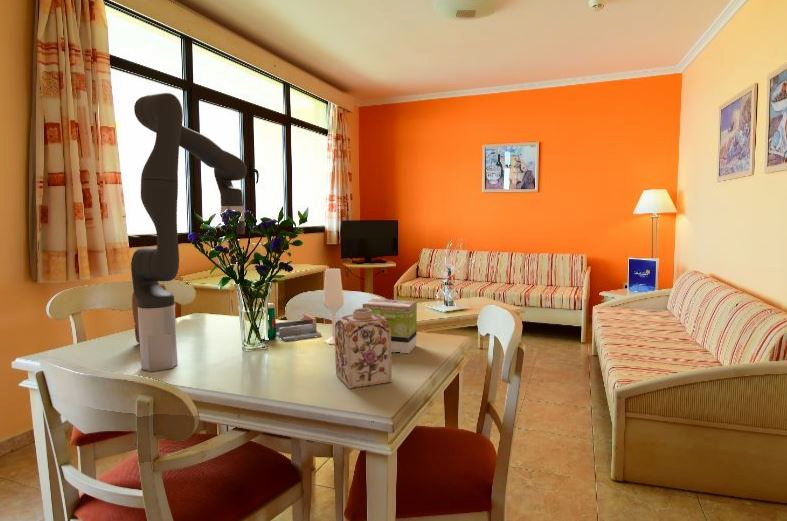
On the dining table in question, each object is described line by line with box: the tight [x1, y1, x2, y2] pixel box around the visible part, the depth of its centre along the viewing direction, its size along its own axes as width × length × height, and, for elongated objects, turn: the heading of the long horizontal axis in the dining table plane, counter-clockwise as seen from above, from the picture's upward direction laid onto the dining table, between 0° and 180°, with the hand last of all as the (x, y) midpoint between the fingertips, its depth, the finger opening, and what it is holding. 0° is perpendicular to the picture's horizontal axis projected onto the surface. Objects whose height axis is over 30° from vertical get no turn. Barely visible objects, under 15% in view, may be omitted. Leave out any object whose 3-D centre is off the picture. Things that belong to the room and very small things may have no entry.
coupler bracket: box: [276, 313, 322, 342], centre depth 175 cm, size 18×13×5 cm
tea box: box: [362, 298, 418, 354], centre depth 155 cm, size 15×10×15 cm
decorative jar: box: [334, 307, 393, 389], centre depth 127 cm, size 12×12×18 cm
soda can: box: [267, 302, 277, 342], centre depth 167 cm, size 5×5×12 cm
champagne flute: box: [322, 268, 345, 343], centre depth 162 cm, size 7×7×24 cm
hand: (234, 267), depth 168 cm, fingers open, 8 cm apart
